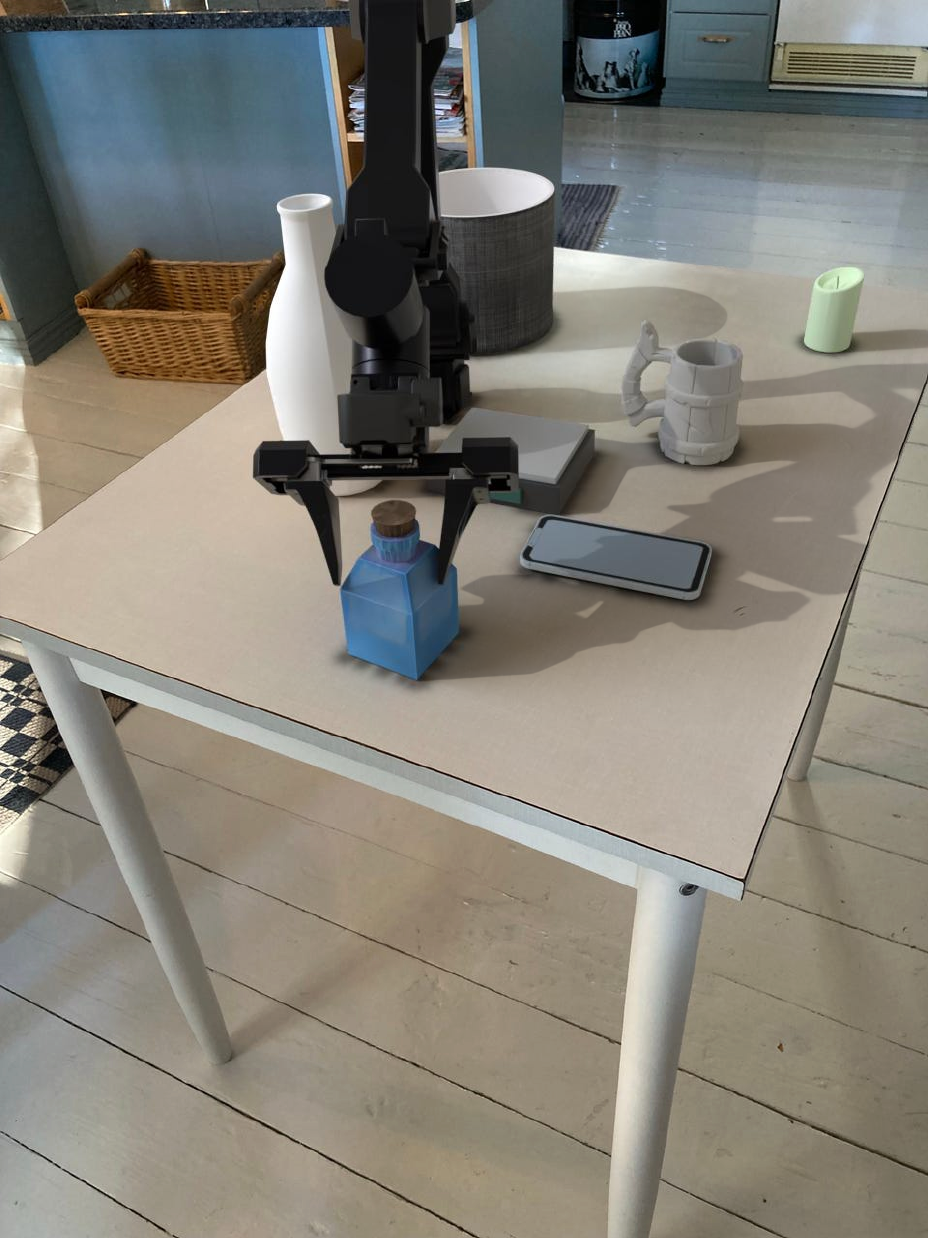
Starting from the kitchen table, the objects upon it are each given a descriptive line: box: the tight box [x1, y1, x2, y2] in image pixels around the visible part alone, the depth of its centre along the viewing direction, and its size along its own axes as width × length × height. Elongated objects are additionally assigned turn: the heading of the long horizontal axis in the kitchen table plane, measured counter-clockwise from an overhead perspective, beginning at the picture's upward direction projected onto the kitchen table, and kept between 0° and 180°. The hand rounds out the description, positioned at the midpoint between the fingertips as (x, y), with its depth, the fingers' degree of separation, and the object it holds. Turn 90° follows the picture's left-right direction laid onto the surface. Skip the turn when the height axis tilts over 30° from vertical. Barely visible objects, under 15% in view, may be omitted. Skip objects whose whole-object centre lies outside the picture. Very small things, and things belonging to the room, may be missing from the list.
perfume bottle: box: [339, 499, 460, 681], centre depth 73 cm, size 6×6×12 cm
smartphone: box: [519, 514, 713, 601], centre depth 83 cm, size 7×1×15 cm
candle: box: [803, 266, 865, 354], centre depth 110 cm, size 5×5×8 cm
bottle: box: [265, 193, 383, 497], centre depth 88 cm, size 11×11×25 cm
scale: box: [425, 406, 596, 516], centre depth 94 cm, size 13×11×4 cm
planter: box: [439, 167, 556, 356], centre depth 117 cm, size 18×18×16 cm
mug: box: [620, 318, 744, 466], centre depth 94 cm, size 8×12×12 cm, turn 65°
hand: (388, 585), depth 71 cm, fingers closed on perfume bottle, 7 cm apart
